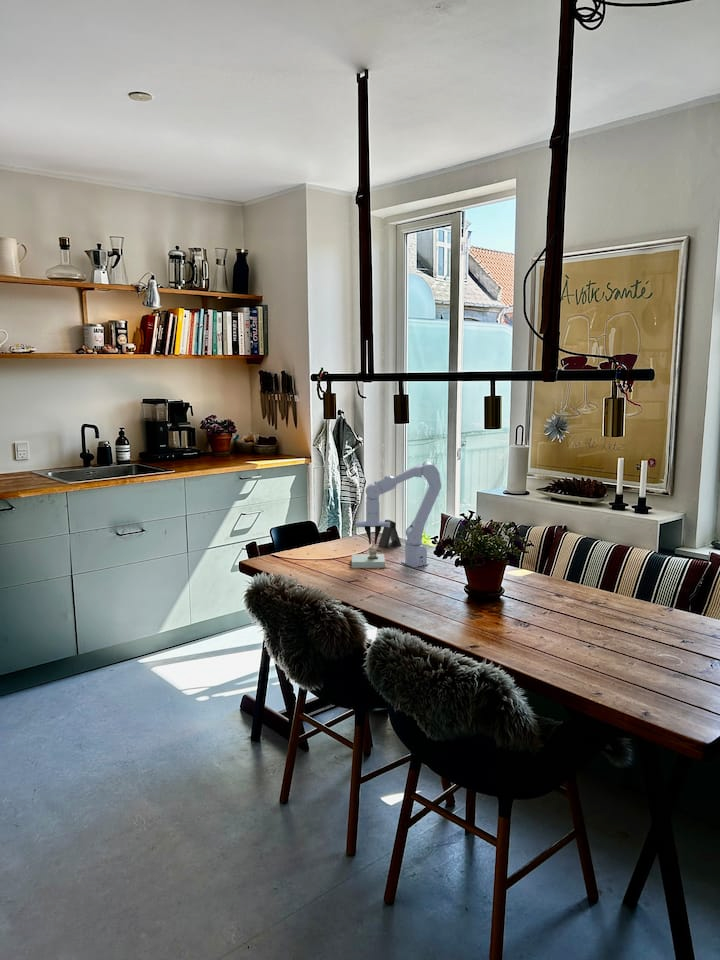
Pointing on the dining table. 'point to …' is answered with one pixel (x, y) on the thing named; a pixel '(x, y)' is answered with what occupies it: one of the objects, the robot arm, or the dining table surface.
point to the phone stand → (387, 534)
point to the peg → (372, 552)
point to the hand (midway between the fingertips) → (372, 543)
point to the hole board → (368, 561)
